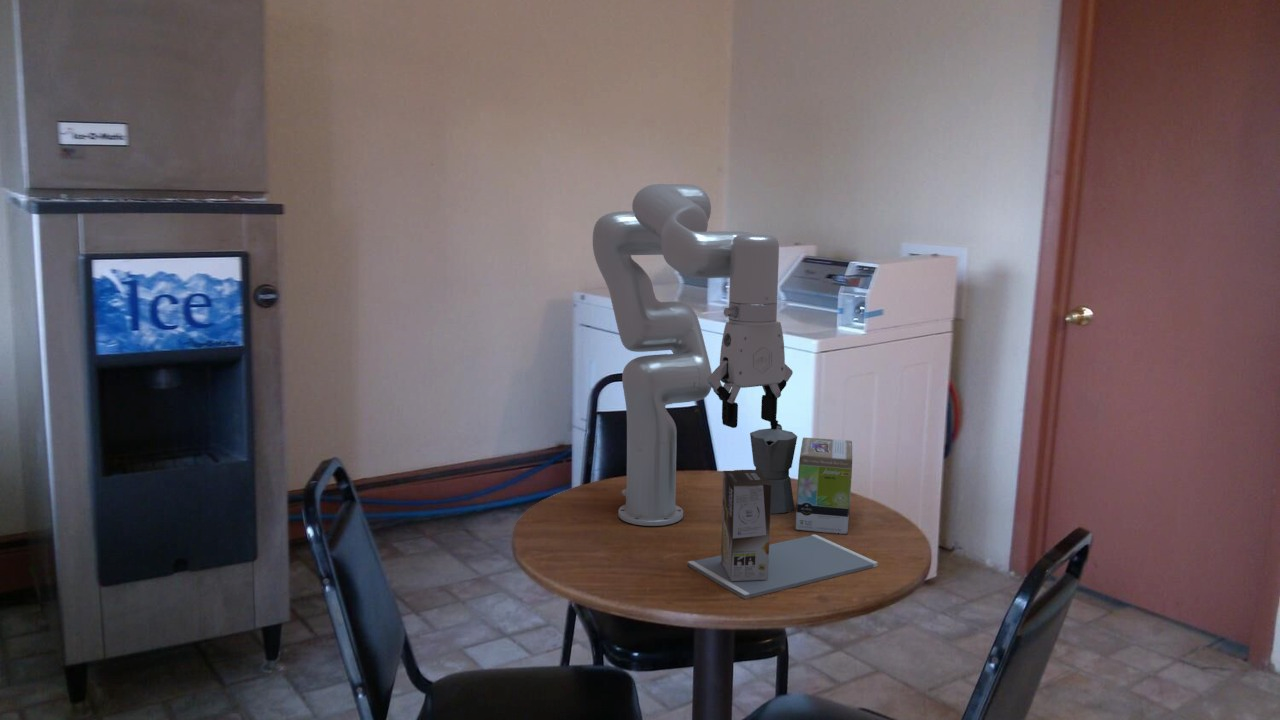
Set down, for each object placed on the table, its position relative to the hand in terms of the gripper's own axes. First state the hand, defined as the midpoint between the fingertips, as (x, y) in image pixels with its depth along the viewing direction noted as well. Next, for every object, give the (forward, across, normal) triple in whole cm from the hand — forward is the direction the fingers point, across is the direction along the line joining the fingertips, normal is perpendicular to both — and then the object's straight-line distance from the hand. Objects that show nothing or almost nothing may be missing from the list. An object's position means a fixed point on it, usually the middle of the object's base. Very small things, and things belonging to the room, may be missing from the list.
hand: (749, 422), depth 159 cm
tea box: (+26, +30, +15) cm, 42 cm away
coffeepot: (+26, +27, +27) cm, 46 cm away
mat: (+26, +8, 0) cm, 27 cm away
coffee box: (+25, 0, 0) cm, 25 cm away
